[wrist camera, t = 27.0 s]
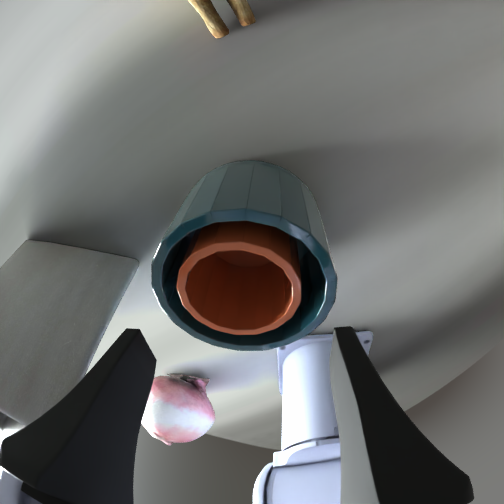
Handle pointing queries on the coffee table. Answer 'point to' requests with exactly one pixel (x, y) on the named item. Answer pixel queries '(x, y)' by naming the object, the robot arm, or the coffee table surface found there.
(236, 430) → the coffee table surface
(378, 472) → the robot arm
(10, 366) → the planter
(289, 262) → the cup
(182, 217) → the base cup
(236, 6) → the figurine
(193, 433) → the onion
